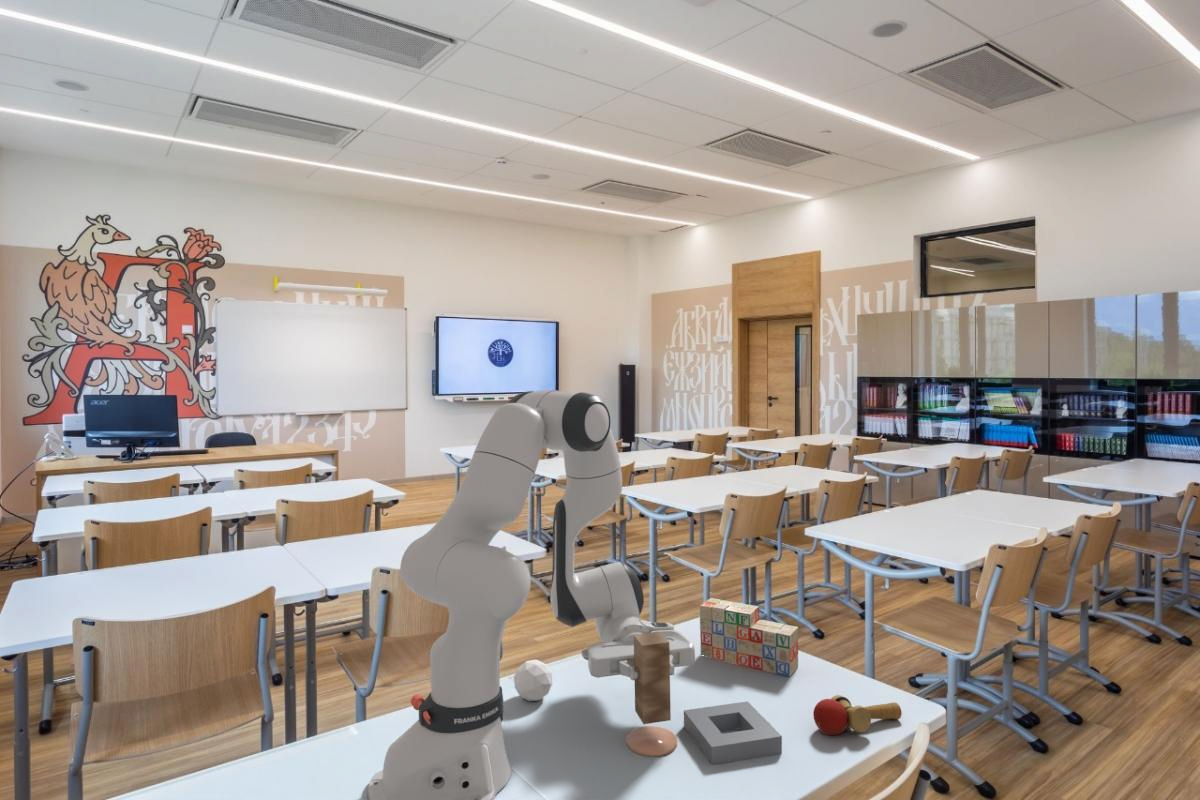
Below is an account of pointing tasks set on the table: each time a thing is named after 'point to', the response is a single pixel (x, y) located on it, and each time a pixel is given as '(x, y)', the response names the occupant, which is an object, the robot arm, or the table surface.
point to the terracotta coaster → (651, 741)
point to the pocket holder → (736, 745)
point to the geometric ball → (533, 680)
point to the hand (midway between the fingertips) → (653, 673)
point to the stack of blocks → (747, 637)
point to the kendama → (850, 715)
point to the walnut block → (652, 677)
